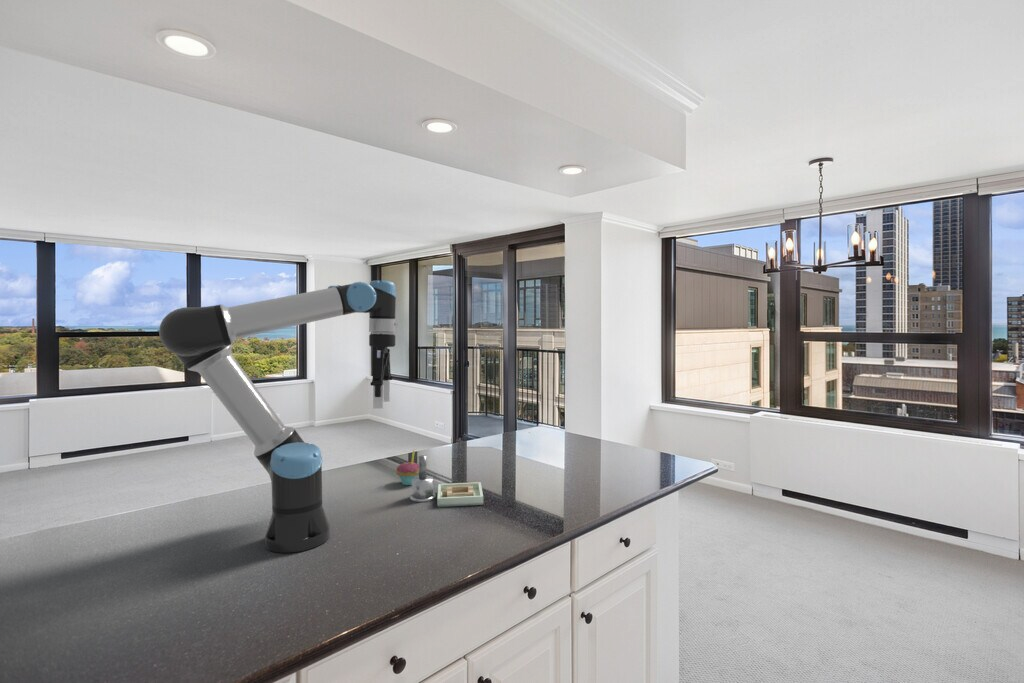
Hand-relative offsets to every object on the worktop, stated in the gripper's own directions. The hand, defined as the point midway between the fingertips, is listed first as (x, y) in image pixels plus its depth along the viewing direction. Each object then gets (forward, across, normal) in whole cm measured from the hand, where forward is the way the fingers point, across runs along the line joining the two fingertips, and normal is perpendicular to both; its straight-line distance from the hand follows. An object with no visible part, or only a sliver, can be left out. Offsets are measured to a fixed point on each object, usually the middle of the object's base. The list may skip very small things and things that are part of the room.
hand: (381, 404), depth 150 cm
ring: (+29, +3, -24) cm, 38 cm away
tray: (+30, +4, -24) cm, 38 cm away
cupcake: (+30, +20, -6) cm, 37 cm away
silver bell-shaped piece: (+30, +5, -12) cm, 33 cm away
